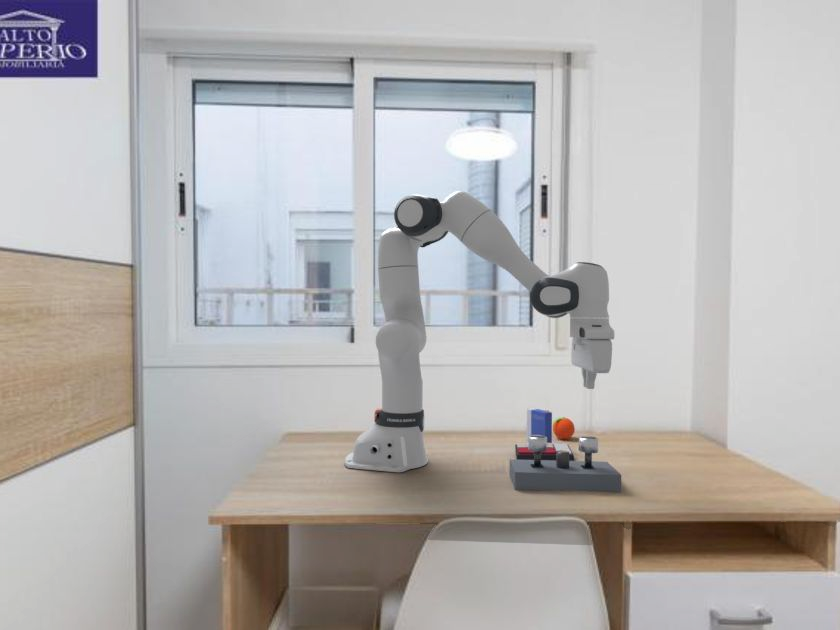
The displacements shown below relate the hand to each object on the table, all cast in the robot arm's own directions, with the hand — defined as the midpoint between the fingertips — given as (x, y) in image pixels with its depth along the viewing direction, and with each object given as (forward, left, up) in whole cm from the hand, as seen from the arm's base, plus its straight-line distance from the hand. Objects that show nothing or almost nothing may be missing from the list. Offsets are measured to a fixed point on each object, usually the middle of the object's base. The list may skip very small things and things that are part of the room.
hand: (588, 388), depth 116 cm
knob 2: (0, 0, -19) cm, 19 cm away
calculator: (-7, +19, -24) cm, 31 cm away
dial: (-6, 0, -19) cm, 20 cm away
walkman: (-6, +30, -23) cm, 38 cm away
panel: (-6, 0, -23) cm, 24 cm away
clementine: (+4, +43, -23) cm, 49 cm away
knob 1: (-12, 0, -19) cm, 22 cm away
